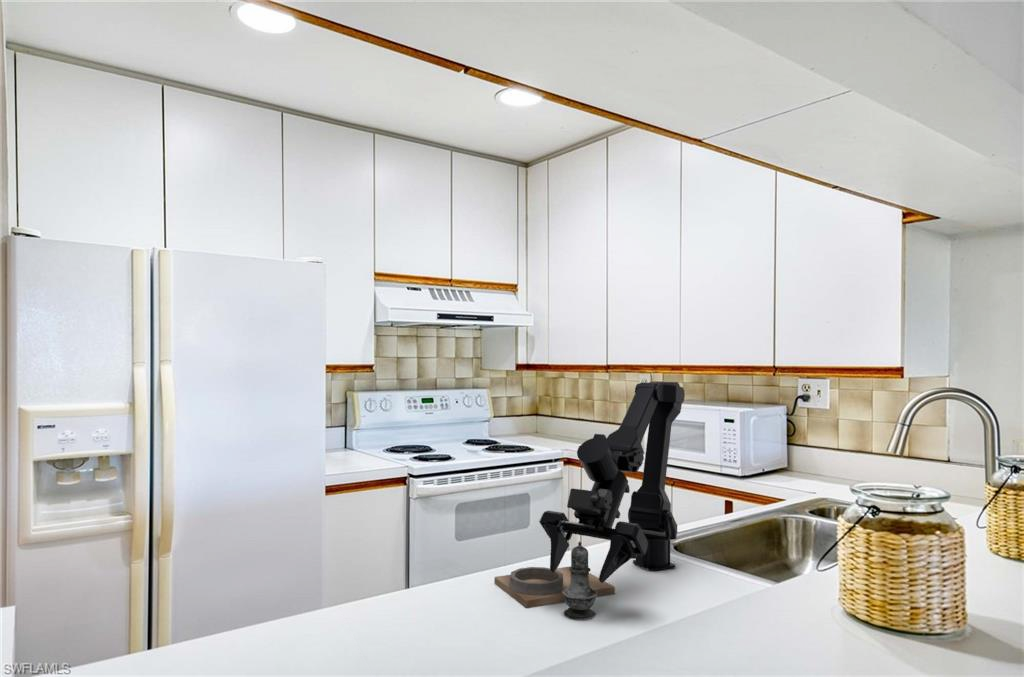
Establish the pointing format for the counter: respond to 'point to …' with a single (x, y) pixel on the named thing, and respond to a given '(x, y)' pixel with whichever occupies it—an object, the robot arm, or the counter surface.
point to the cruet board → (544, 585)
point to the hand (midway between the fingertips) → (575, 576)
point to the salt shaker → (579, 587)
